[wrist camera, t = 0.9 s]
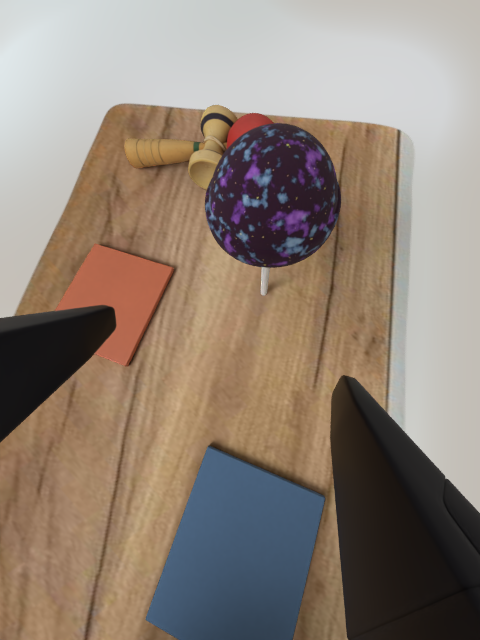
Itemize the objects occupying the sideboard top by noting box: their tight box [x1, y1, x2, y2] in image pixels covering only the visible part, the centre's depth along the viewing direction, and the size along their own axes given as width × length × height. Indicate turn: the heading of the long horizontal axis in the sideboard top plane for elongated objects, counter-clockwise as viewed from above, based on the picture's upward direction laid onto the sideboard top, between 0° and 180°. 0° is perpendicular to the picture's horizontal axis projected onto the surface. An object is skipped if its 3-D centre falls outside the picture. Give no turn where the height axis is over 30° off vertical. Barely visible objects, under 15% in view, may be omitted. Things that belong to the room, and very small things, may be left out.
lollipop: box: [205, 123, 341, 295], centre depth 16 cm, size 7×7×15 cm
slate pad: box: [146, 446, 325, 640], centre depth 17 cm, size 12×10×1 cm
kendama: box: [125, 105, 274, 190], centre depth 26 cm, size 8×6×18 cm
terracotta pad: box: [55, 244, 174, 366], centre depth 24 cm, size 11×10×1 cm
